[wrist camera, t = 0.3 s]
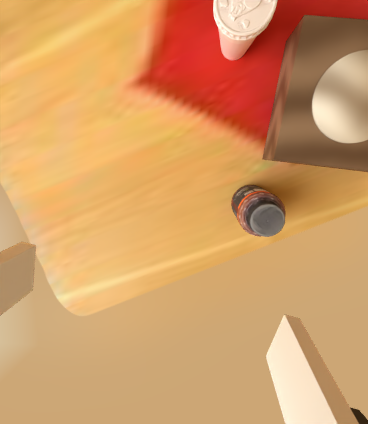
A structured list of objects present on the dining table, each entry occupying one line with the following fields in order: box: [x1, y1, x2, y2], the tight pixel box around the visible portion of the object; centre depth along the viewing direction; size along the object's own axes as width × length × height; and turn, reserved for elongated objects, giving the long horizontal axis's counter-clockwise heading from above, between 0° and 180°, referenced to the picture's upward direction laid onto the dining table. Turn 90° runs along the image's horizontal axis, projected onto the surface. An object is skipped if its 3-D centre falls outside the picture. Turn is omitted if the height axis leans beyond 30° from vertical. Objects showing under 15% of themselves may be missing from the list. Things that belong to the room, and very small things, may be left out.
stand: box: [263, 15, 368, 172], centre depth 29 cm, size 16×16×6 cm
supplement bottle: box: [231, 185, 285, 237], centre depth 31 cm, size 6×6×11 cm
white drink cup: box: [213, 0, 278, 60], centre depth 25 cm, size 6×6×14 cm
